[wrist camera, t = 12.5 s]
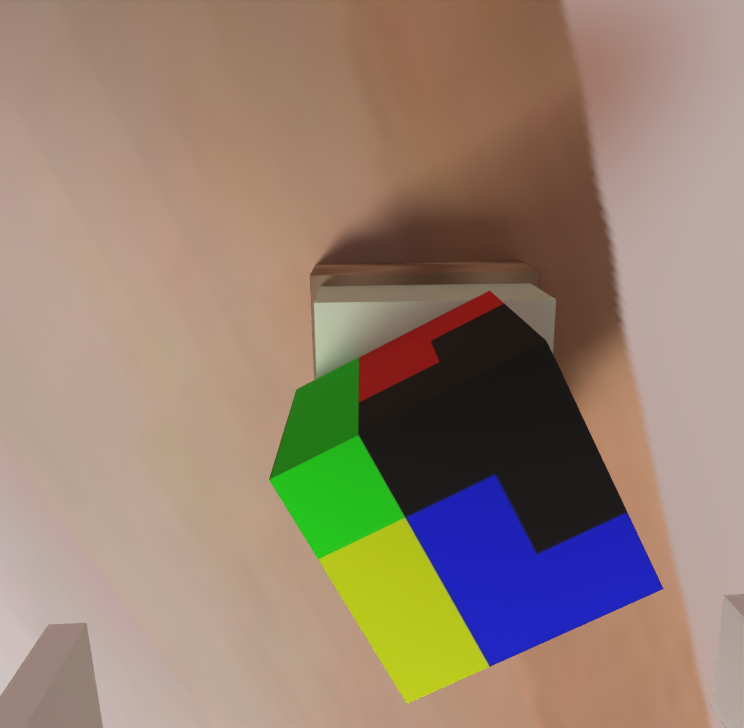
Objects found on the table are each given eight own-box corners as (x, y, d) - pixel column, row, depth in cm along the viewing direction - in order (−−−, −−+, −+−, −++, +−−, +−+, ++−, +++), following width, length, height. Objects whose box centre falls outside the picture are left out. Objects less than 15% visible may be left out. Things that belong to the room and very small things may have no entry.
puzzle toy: (577, 470, 34) (663, 588, 24) (394, 557, 35) (406, 703, 25) (489, 290, 31) (546, 341, 22) (296, 389, 33) (269, 479, 23)
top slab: (326, 480, 39) (321, 523, 34) (320, 286, 36) (314, 302, 31) (521, 477, 39) (543, 519, 34) (530, 283, 36) (556, 299, 32)
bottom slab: (323, 454, 44) (318, 488, 39) (315, 264, 41) (309, 275, 36) (512, 449, 44) (530, 482, 39) (519, 260, 41) (540, 271, 36)
